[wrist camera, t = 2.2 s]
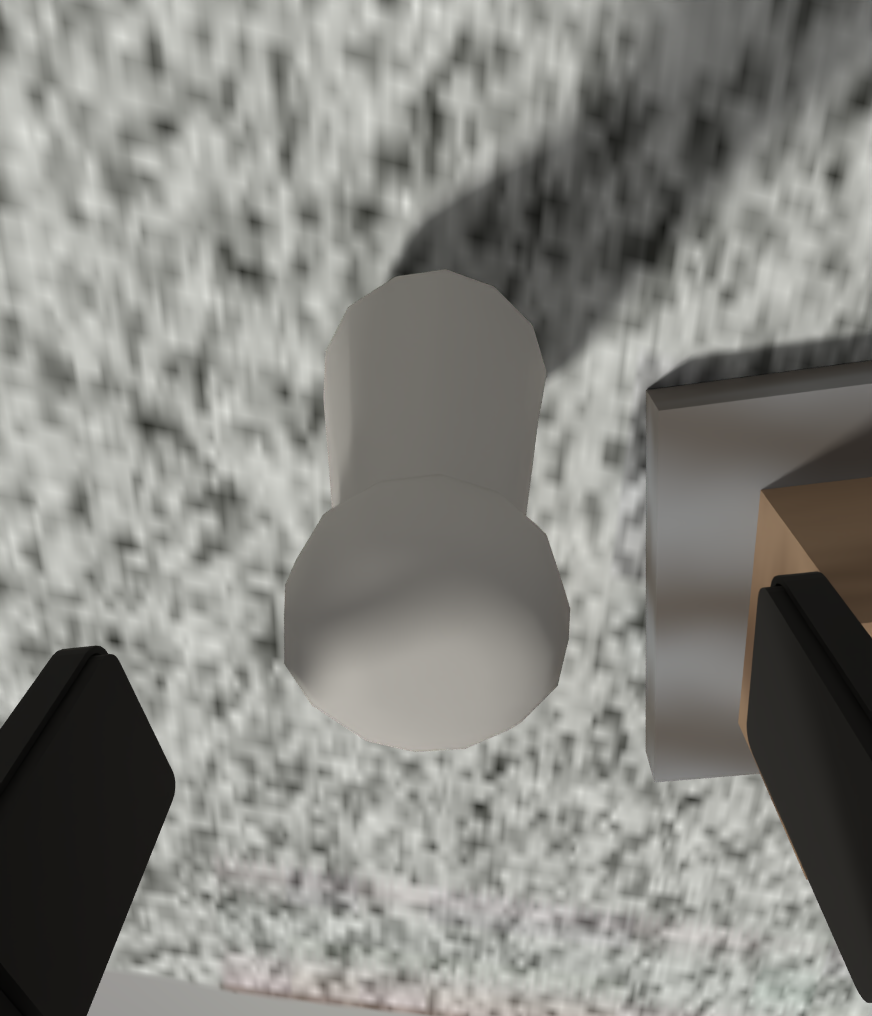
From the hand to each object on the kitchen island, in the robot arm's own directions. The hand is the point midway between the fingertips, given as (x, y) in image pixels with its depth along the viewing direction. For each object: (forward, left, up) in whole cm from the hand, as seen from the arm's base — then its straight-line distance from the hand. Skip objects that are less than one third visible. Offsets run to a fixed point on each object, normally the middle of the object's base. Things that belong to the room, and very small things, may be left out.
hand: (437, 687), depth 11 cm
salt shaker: (-1, 0, -13) cm, 13 cm away
